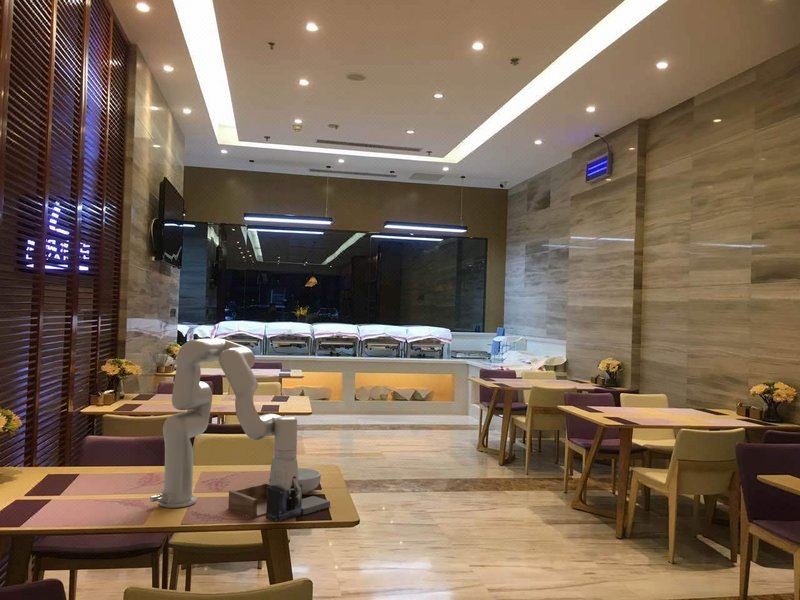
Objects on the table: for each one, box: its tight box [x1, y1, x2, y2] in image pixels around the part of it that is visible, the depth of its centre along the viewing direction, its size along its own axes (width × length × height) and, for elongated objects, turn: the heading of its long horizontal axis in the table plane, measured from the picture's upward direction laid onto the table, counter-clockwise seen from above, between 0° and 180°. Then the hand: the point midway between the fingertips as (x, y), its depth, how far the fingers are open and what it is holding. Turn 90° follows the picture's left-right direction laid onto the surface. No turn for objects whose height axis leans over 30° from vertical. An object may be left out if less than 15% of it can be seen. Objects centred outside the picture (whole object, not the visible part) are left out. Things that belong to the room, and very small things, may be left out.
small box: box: [265, 484, 303, 523], centre depth 203 cm, size 11×6×10 cm, turn 142°
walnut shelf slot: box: [228, 481, 271, 519], centre depth 211 cm, size 16×14×6 cm
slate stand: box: [301, 495, 331, 516], centre depth 213 cm, size 12×9×2 cm
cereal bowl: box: [298, 467, 322, 495], centre depth 232 cm, size 17×17×7 cm
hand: (284, 507), depth 203 cm, fingers closed on small box, 6 cm apart
